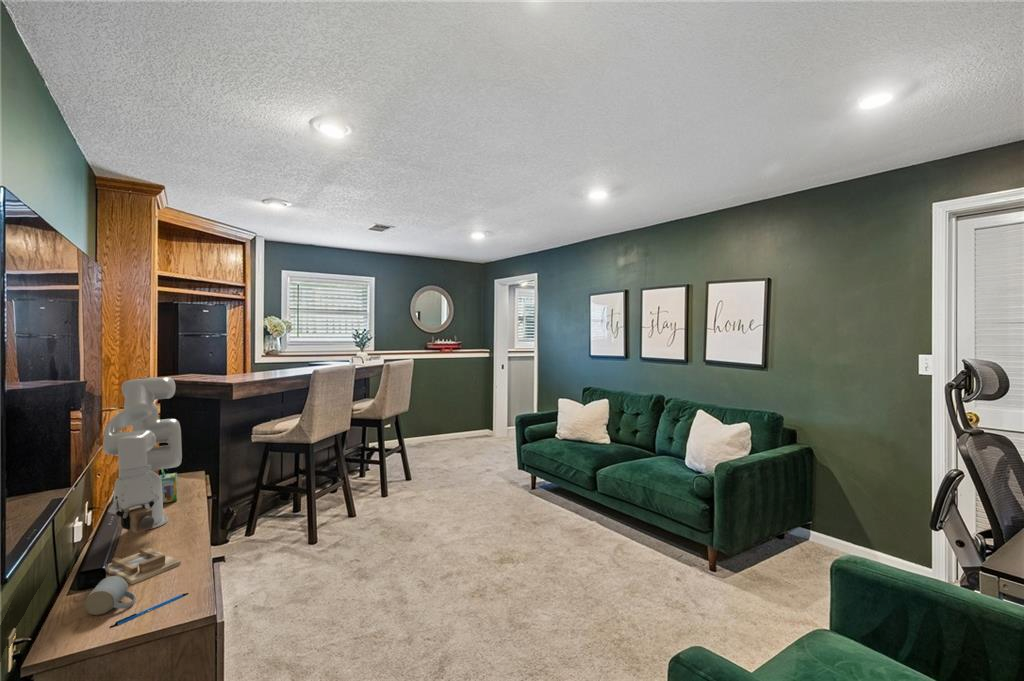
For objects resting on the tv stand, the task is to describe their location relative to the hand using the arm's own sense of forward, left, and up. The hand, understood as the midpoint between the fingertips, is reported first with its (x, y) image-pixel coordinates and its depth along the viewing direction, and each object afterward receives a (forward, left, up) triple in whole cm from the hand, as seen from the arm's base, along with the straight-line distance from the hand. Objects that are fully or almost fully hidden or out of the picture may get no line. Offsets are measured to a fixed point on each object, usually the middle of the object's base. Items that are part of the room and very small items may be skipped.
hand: (135, 525), depth 161 cm
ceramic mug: (+22, -16, -14) cm, 31 cm away
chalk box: (-60, +37, -14) cm, 72 cm away
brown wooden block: (0, 0, -1) cm, 1 cm away
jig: (+3, 0, -14) cm, 14 cm away
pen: (+34, -11, -14) cm, 38 cm away
